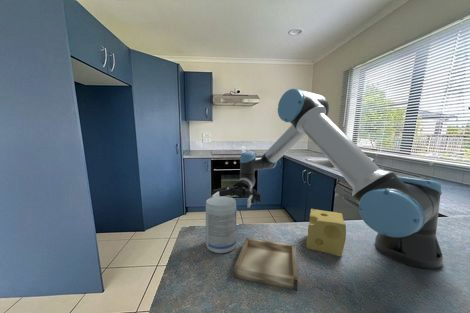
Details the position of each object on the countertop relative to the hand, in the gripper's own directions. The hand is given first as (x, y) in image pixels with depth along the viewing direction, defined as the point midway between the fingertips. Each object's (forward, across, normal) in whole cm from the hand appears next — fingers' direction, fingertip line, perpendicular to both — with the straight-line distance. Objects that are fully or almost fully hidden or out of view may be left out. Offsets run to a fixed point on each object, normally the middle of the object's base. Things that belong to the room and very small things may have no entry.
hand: (229, 201), depth 70 cm
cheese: (0, -32, -11) cm, 34 cm away
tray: (+16, -15, -11) cm, 24 cm away
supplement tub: (+10, 0, -11) cm, 15 cm away
